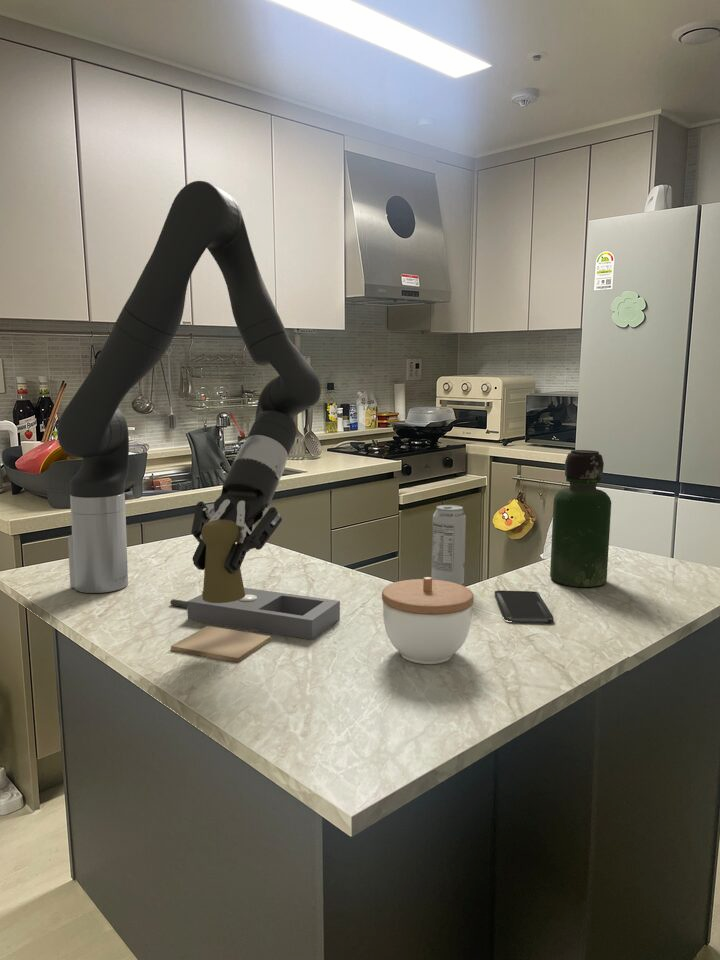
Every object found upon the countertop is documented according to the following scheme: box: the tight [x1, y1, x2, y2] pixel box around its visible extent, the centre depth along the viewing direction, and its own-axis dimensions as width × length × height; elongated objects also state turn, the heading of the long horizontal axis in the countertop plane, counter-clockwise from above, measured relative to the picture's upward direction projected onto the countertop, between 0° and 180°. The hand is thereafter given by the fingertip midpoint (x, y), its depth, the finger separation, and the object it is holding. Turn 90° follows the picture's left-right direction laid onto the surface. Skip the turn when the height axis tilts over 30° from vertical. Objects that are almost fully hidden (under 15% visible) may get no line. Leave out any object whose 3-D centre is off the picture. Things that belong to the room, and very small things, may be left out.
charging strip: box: [169, 587, 341, 641], centre depth 114 cm, size 29×10×4 cm, turn 68°
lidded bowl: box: [381, 576, 475, 665], centre depth 99 cm, size 13×13×11 cm
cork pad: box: [170, 625, 272, 663], centre depth 102 cm, size 11×9×1 cm
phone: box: [493, 589, 554, 625], centre depth 120 cm, size 8×1×15 cm
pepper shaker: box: [201, 520, 245, 603], centre depth 100 cm, size 6×6×11 cm
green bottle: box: [549, 449, 612, 588], centre depth 135 cm, size 10×10×25 cm
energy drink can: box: [430, 504, 467, 586], centre depth 131 cm, size 6×6×15 cm
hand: (213, 568), depth 99 cm, fingers closed on pepper shaker, 4 cm apart
